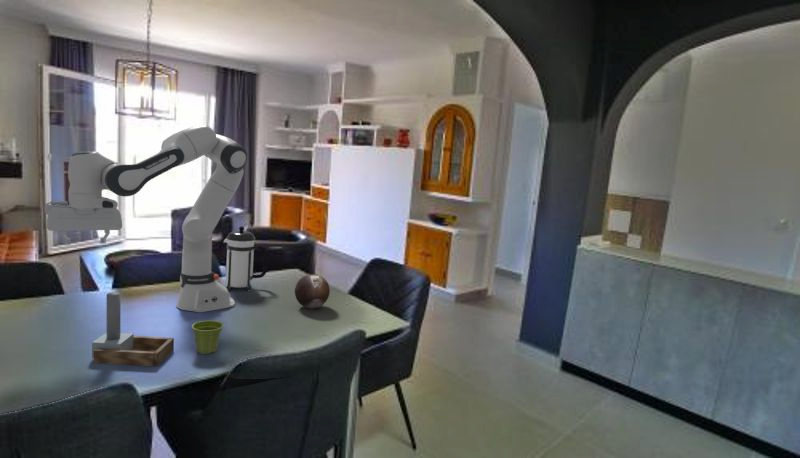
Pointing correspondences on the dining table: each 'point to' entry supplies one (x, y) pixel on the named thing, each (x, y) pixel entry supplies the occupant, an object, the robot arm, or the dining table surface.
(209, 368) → the dining table surface
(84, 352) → the dining table surface
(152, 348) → the bay
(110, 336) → the gray post
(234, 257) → the coffee press
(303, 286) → the brown ball
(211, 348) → the plant pot
